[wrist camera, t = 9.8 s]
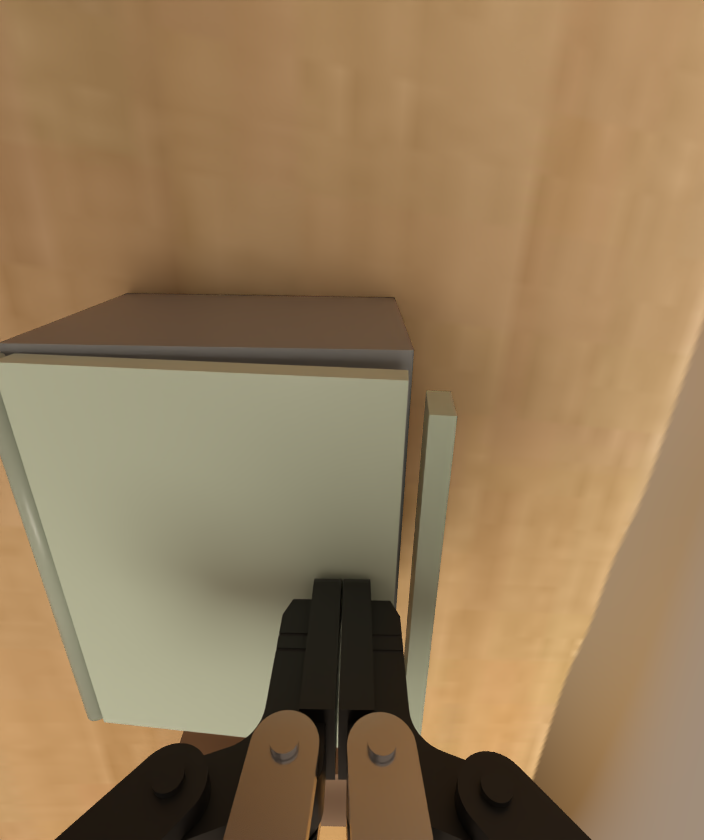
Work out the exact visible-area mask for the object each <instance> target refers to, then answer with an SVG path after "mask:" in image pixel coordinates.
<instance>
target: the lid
mask: <svg viewBox="0 0 704 840" xmlns="http://www.w3.org/2000/svg"><path fill="white" fill-rule="evenodd" d="M408 383H409V375H408V370H394V369H371V368H347V367H324V366H300V365H277V364H254V363H230V362H207V361H183V360H160V359H136V358H113V357H89V356H66V355H43V354H19V353H13V354H11V355H8V356H6V357H5V354H4V353H0V456H1V459H2V462H3V465H4V468H5V471H6V474H7V477H8V480H9V483H10V486H11V489H12V492H13V495H14V498H15V501H16V504H17V507H18V510H19V513H20V516H21V519H22V522H23V525H24V528H25V531H26V534H27V537H28V540H29V543H30V546H31V549H32V552H33V555H34V558H35V561H36V564H37V567H38V570H39V573H40V576H41V579H42V582H43V585H44V588H45V591H46V594H47V597H48V600H49V603H50V606H51V609H52V612H53V615H54V618H55V621H56V624H57V627H58V630H59V633H60V636H61V639H62V642H63V645H64V648H65V651H66V654H67V656H68V659H69V662H70V665H71V668H72V671H73V674H74V677H75V680H76V683H77V686H78V689H79V692H80V695H81V698H82V701H83V704H84V707H85V710H86V713H87V716H88V719H89V720H91V721H97V720H100V719H102V718H103V720H104V722H108V723H117V724H126V725H135V726H144V727H153V728H163V729H172V730H181V731H190V732H199V733H208V734H218V735H227V736H236V737H245V738H246V737H247V736H249V735H250V734H251V733H252V732H253V731H254V729H255V728H256V727H257V726H258V724H259V722H260V721H261V719H262V716H263V714H264V710H265V706H266V701H267V695H268V690H269V684H270V679H271V674H272V668H273V663H274V658H275V652H276V647H277V641H278V636H279V631H280V625H281V620H282V615H283V613H284V612H285V610H286V609H287V607H288V606H289V604H290V603H291V602H292V600H293V599H312V592H313V584H314V579H315V578H319V579H341V628H342V603H343V580H344V579H370V582H371V600H383V601H391V603H392V604H393V606H394V596H395V581H396V565H397V550H398V535H399V520H400V505H401V490H402V474H403V459H404V444H405V429H406V414H407V399H408ZM456 423H457V413H456V409H455V405H454V401H453V398H452V394H451V391H429V390H426V400H425V412H424V424H423V436H422V448H421V460H420V472H419V484H418V496H417V508H416V520H415V532H414V544H413V556H412V569H411V581H410V593H409V605H408V617H407V629H406V641H405V653H404V662H405V672H406V682H407V693H408V703H409V712H410V717H411V720H412V723H413V725H414V727H415V729H416V730H417V732H418V733H419V735H420V736H421V729H422V720H423V711H424V702H425V694H426V685H427V676H428V667H429V659H430V650H431V641H432V633H433V624H434V615H435V606H436V598H437V589H438V580H439V572H440V563H441V554H442V545H443V537H444V528H445V519H446V510H447V502H448V493H449V484H450V476H451V467H452V458H453V449H454V441H455V432H456ZM340 652H341V650H340ZM339 677H340V674H339ZM338 702H339V698H338ZM337 748H338V723H337Z"/></svg>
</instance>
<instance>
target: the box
mask: <svg viewBox="0 0 704 840" xmlns="http://www.w3.org/2000/svg"><path fill="white" fill-rule="evenodd" d="M0 353H4V354H5V357H6V356H8V355H11V354H13V353H19V354H43V355H66V356H89V357H113V358H136V359H160V360H183V361H207V362H230V363H254V364H277V365H300V366H324V367H347V368H371V369H394V370H408V375H409V383H408V399H407V414H406V429H405V444H404V459H403V474H402V490H401V505H400V520H399V535H398V550H397V565H396V581H395V596H394V608H395V609H396V603H397V589H398V574H399V560H400V545H401V531H402V516H403V501H404V487H405V472H406V458H407V443H408V429H409V414H410V400H411V385H412V371H413V356H414V349H413V346H412V344H411V341H410V338H409V336H408V333H407V330H406V327H405V325H404V322H403V319H402V317H401V314H400V311H399V308H398V306H397V303H396V300H395V298H392V297H328V296H265V295H202V294H138V293H127V294H124V295H122V296H119V297H117V298H114V299H111V300H109V301H106V302H104V303H101V304H98V305H96V306H93V307H91V308H88V309H85V310H83V311H80V312H78V313H75V314H72V315H70V316H67V317H65V318H62V319H59V320H57V321H54V322H52V323H49V324H46V325H44V326H41V327H39V328H36V329H34V330H31V331H28V332H26V333H23V334H21V335H18V336H15V337H13V338H10V339H8V340H5V341H2V342H0Z"/></svg>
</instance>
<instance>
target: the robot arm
mask: <svg viewBox="0 0 704 840" xmlns="http://www.w3.org/2000/svg"><path fill="white" fill-rule="evenodd" d="M340 650H341V652H340ZM339 674H340V677H339ZM338 698H339V702H338ZM337 723H338V780H347V783H346V838H347V840H591V839H590V838H589V837H588V836H587V835H586V834H585V833H584V832H583V831H582V830H581V829H580V828H579V827H578V826H577V825H576V824H575V823H574V822H573V821H572V820H571V819H570V818H569V817H568V816H567V815H566V814H565V813H564V812H563V811H562V810H561V809H560V808H559V807H558V806H557V805H556V804H555V803H554V802H553V801H552V800H551V799H550V798H549V797H548V796H547V795H546V794H545V793H544V792H543V791H542V790H541V789H540V788H539V787H538V786H537V785H536V784H535V783H534V782H533V781H532V780H531V779H530V778H529V777H528V776H527V775H526V774H525V773H524V772H523V770H522V769H521V768H520V767H519V766H517V765H516V764H515V763H514V762H513V761H511V760H510V759H508V758H507V757H505V756H503V755H501V754H498V753H495V752H489V751H482V752H478V753H475V754H473V755H471V756H469V757H468V758H467V759H466V760H464V759H461V758H458V757H456V756H453V755H451V754H448V753H445V752H443V751H441V750H438V749H436V748H435V747H433V746H431V745H430V744H429V743H427V742H426V741H425V740H424V739H423V738H422V737H421V736H420V735H419V733H418V732H417V730H416V729H415V727H414V725H413V723H412V720H411V717H410V712H409V703H408V693H407V682H406V672H405V662H404V654H403V642H402V632H401V622H400V616H399V614H398V613H397V611H396V609H395V608H394V606H393V604H392V603H391V601H383V600H371V582H370V579H344V580H343V603H342V628H341V579H319V578H315V579H314V584H313V592H312V599H293V600H292V602H291V603H290V604H289V606H288V607H287V609H286V610H285V612H284V613H283V615H282V620H281V625H280V631H279V636H278V641H277V647H276V652H275V658H274V663H273V668H272V674H271V679H270V684H269V690H268V695H267V701H266V706H265V710H264V714H263V716H262V719H261V721H260V722H259V724H258V726H257V727H256V728H255V729H254V731H253V732H252V733H251V734H250V735H249V736H247V737H246V738H245V739H243V740H242V741H240V742H239V743H237V744H235V745H233V746H230V747H227V748H224V749H221V750H218V751H215V752H212V753H209V754H206V755H203V753H202V752H201V751H200V750H199V749H198V748H197V747H195V746H193V745H190V744H187V743H176V744H171V745H168V746H165V747H163V748H161V749H159V750H157V751H156V752H154V753H153V754H152V755H150V756H149V757H148V758H147V759H146V760H145V761H143V762H142V763H141V764H140V765H139V766H138V767H137V768H136V769H134V770H133V771H132V772H131V773H130V774H129V775H128V776H126V777H125V778H124V779H123V780H122V781H121V782H120V783H118V784H117V785H116V786H115V787H114V788H113V789H112V790H111V791H109V792H108V793H107V794H106V795H105V796H104V797H103V798H101V799H100V800H99V801H98V802H97V803H96V804H95V805H94V806H92V807H91V808H90V809H89V810H88V811H87V812H86V813H84V814H83V815H82V816H81V817H80V818H79V819H78V820H76V821H75V822H74V823H73V824H72V825H71V826H70V827H69V828H67V829H66V830H65V831H64V832H63V833H62V834H61V835H59V836H58V837H57V838H56V839H55V840H319V836H320V828H321V820H322V816H323V811H324V798H325V781H326V780H335V771H336V747H337Z"/></svg>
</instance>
